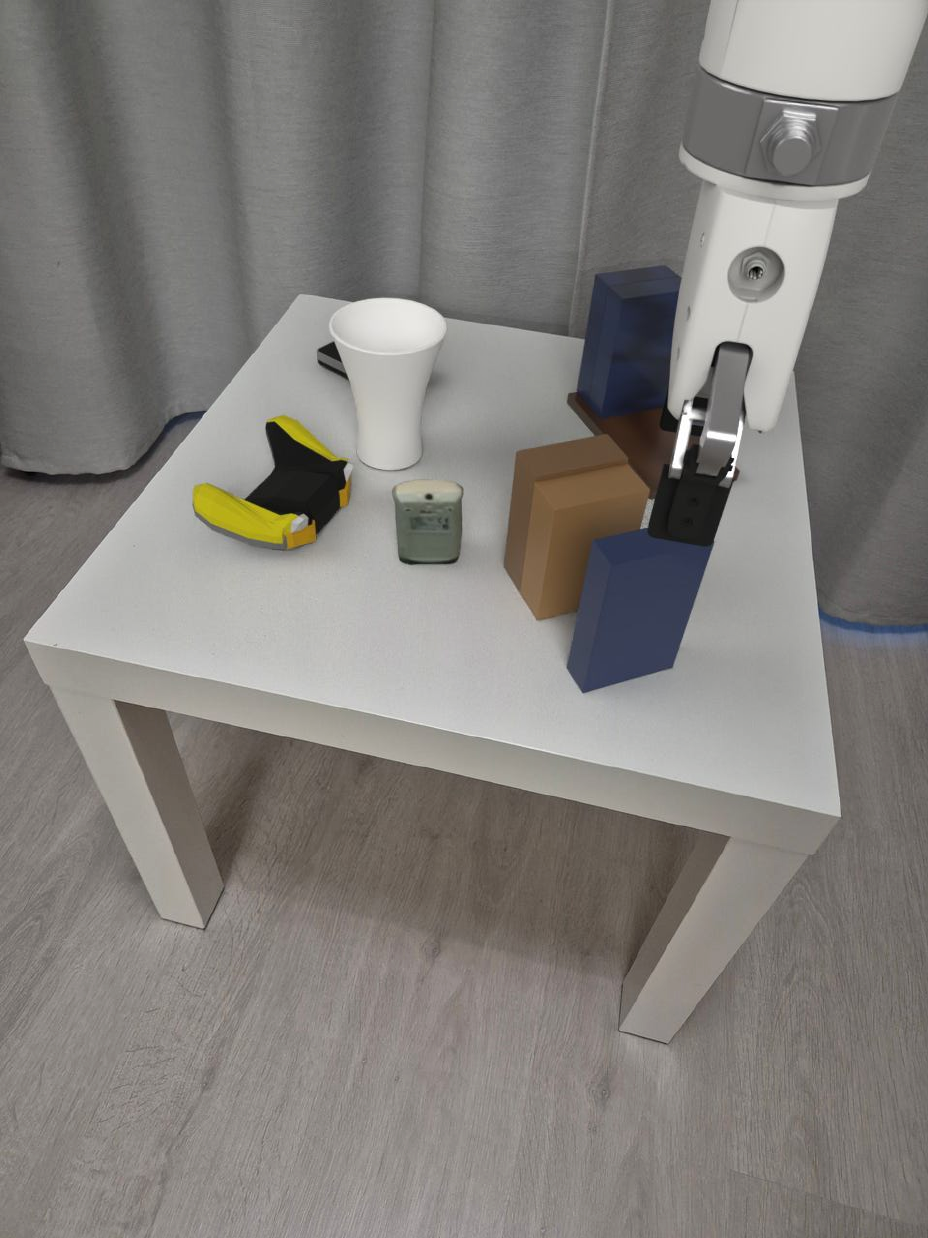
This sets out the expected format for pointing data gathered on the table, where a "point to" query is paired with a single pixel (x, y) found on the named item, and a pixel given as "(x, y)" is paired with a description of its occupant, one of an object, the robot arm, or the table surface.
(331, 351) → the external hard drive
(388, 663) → the table surface
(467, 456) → the table surface
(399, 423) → the cup
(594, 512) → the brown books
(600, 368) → the blue bookends on base
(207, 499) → the gaming controller
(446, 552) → the grey-green rounded box
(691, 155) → the robot arm
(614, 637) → the navy book
